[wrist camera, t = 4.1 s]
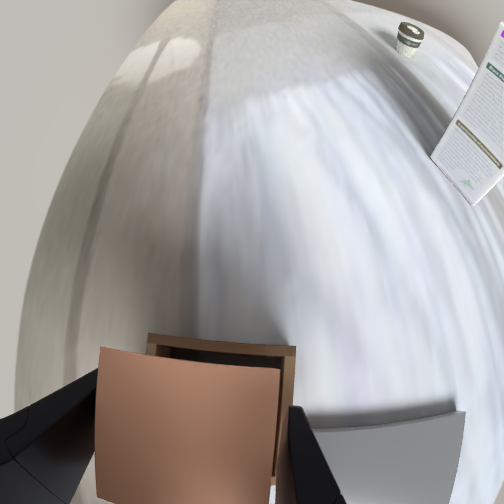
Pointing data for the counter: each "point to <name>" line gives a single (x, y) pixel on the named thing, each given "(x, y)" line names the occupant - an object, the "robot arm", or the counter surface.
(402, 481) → the slate board
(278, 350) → the walnut holder
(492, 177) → the syrup box
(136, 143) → the counter surface
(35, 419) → the robot arm
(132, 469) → the terracotta block
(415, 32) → the coffee cup
